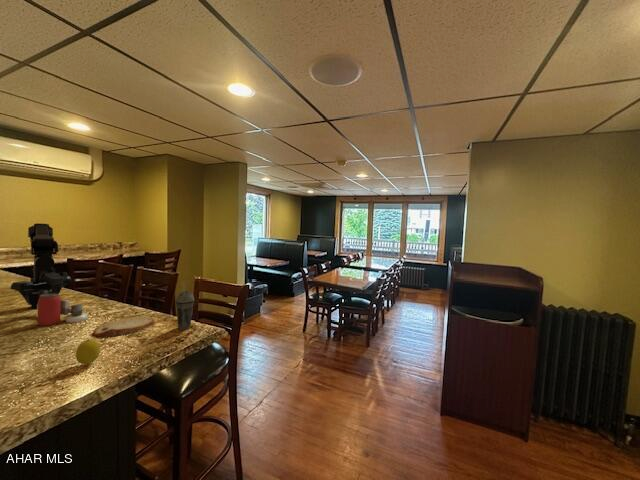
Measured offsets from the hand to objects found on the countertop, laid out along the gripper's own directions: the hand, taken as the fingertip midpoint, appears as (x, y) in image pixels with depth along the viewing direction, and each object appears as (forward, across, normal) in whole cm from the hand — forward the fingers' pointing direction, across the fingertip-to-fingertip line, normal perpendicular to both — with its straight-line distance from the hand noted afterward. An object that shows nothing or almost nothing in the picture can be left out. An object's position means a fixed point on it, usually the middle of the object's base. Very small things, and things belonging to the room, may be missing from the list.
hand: (42, 301), depth 118 cm
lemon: (+6, -28, -58) cm, 64 cm away
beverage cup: (+6, +6, -65) cm, 65 cm away
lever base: (+6, 0, -18) cm, 19 cm away
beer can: (+6, -6, -12) cm, 15 cm away
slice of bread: (+7, -1, -44) cm, 44 cm away
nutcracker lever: (+4, 0, -9) cm, 10 cm away
